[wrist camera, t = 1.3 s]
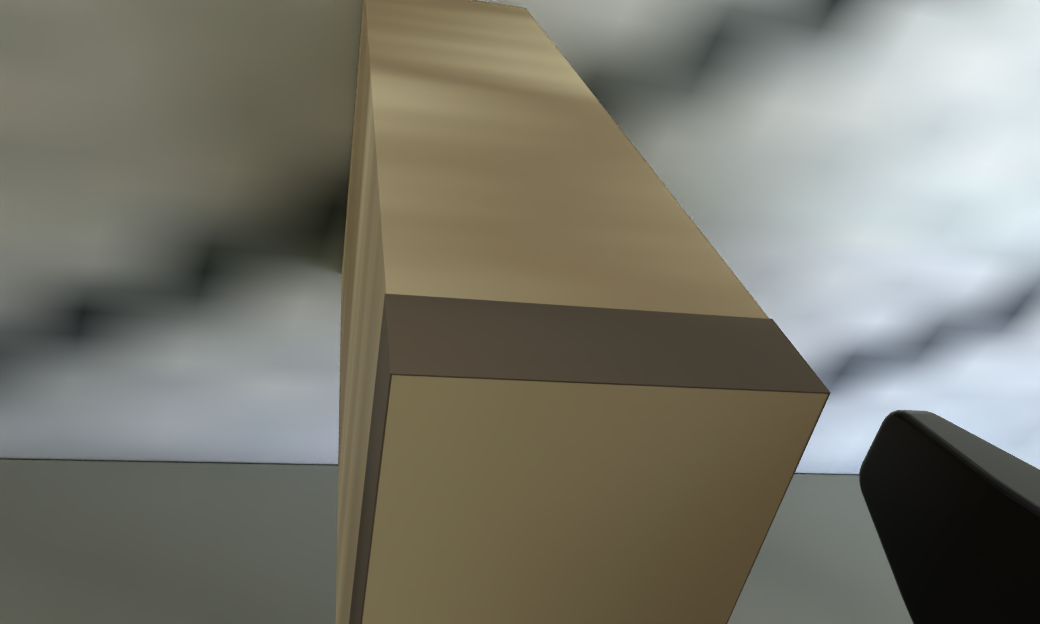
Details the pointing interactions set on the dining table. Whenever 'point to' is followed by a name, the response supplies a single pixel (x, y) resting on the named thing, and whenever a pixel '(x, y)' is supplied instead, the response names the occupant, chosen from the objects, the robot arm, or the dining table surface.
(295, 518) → the grey storage tray
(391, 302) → the tall wooden brick
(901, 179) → the dining table surface
